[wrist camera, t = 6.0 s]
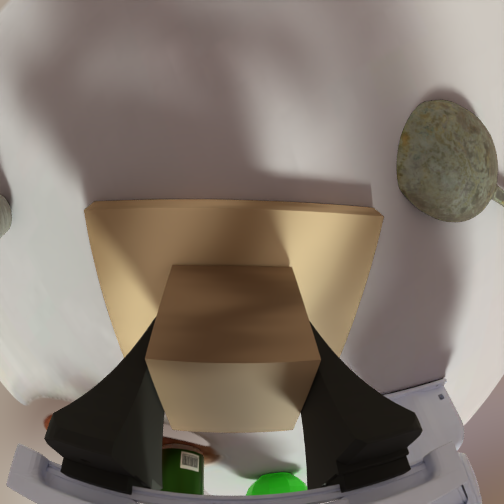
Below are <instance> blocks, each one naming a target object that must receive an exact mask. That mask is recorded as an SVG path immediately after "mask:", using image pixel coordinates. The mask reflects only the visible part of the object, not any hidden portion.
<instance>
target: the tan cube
mask: <svg viewBox="0 0 504 504" xmlns="http://www.w3.org/2000/svg"><path fill="white" fill-rule="evenodd" d="M145 361H146V364H147V366H148V369H149V372H150V375H151V378H152V380H153V383H154V386H155V389H156V391H157V394H158V396H159V399H160V401H161V404H162V406H163V409H164V411H165V413H166V416H167V418H168V421H169V423H170V425H171V427H172V429H173V430H180V431H194V432H218V433H248V432H272V431H285V430H293V428H294V426H295V424H296V422H297V419H298V417H299V415H300V412H301V410H302V408H303V405H304V403H305V400H306V398H307V395H308V393H309V390H310V388H311V385H312V383H313V380H314V378H315V375H316V372H317V370H318V367H319V364H320V362H321V358H320V354H319V351H318V348H317V344H316V341H315V338H314V334H313V331H312V328H311V325H310V321H309V318H308V315H307V312H306V309H305V306H304V302H303V299H302V296H301V293H300V290H299V287H298V284H297V281H296V278H295V275H294V272H293V268H292V267H270V266H207V265H172V267H171V271H170V274H169V277H168V280H167V283H166V286H165V289H164V293H163V296H162V299H161V302H160V306H159V309H158V313H157V316H156V319H155V323H154V326H153V330H152V334H151V337H150V341H149V345H148V348H147V352H146V356H145Z"/></svg>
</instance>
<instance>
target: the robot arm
mask: <svg viewBox="0 0 504 504" xmlns="http://www.w3.org/2000/svg"><path fill="white" fill-rule="evenodd" d="M155 319H156V317H155V318H154V320H153V321H152V323H151V324H150V326H149V327H148V328H147V330H146V331H145V333H144V334H143V335H142V337H141V338H140V339H139V340H138V342H137V343H136V344H135V346H134V347H133V348H132V349H131V351H130V352H129V353H128V354H127V355H126V356H125V358H124V359H123V360H122V361H121V362H120V363H119V364H118V365H117V367H116V368H115V369H114V370H113V371H112V372H111V373H109V374H108V375H107V376H106V377H105V378H104V379H103V380H102V381H101V382H100V383H98V384H97V385H96V386H95V387H94V388H92V389H91V390H90V391H88V392H87V393H86V394H84V395H83V396H81V397H80V398H79V399H77V400H76V401H74V402H72V403H71V404H69V405H67V406H66V407H64V408H62V409H60V410H58V411H57V412H54V413H53V415H52V418H51V420H50V423H49V426H48V429H47V432H46V435H45V438H44V439H45V440H46V442H47V444H48V445H49V446H50V447H52V448H53V449H54V450H55V451H56V452H58V453H59V454H60V455H61V456H63V457H64V458H63V462H62V465H60V464H57V463H54V462H52V461H49V460H48V459H47V458H46V457H45V456H43V455H42V454H40V453H39V452H37V451H35V450H32V449H30V448H28V447H26V446H24V445H22V444H20V443H19V444H18V445H17V449H16V451H15V455H14V458H13V461H12V465H11V468H10V472H9V476H8V480H7V487H9V488H11V489H12V490H14V491H16V492H17V493H19V494H21V495H22V496H24V497H26V498H28V499H30V500H31V501H33V502H35V503H37V504H139V503H143V504H320V503H325V502H329V503H325V504H482V499H481V495H480V490H479V486H478V482H477V479H476V477H475V474H474V471H473V469H472V466H471V464H470V462H469V459H468V458H467V456H466V454H465V453H460V452H457V450H458V449H459V448H460V446H461V444H462V442H463V439H464V426H463V423H462V420H461V418H460V416H459V414H458V412H457V410H456V408H455V406H454V404H453V402H452V400H451V399H450V397H449V395H448V393H447V391H446V389H445V387H444V385H445V383H446V382H447V380H446V379H441V380H438V381H435V382H432V383H428V384H425V385H421V386H418V387H414V388H411V389H407V390H403V391H399V392H395V393H391V394H386V395H382V394H380V393H379V392H377V391H376V390H375V389H373V388H372V387H371V386H369V385H368V384H367V383H365V382H364V381H363V380H362V379H360V378H359V377H358V376H357V375H356V374H355V373H354V372H353V371H352V370H350V369H349V368H348V367H347V366H346V365H345V363H344V362H343V361H342V360H341V359H340V358H339V357H338V356H337V355H336V354H335V353H334V351H333V350H332V349H331V348H330V347H329V345H328V344H327V343H326V342H325V341H324V339H323V338H322V337H321V335H320V334H319V333H318V331H317V330H316V329H315V327H314V326H313V325H312V323H311V322H310V325H311V328H312V331H313V334H314V338H315V341H316V344H317V348H318V351H319V354H320V358H321V362H320V364H319V367H318V370H317V372H316V375H315V378H314V380H313V383H312V385H311V388H310V390H309V393H308V395H307V398H306V400H305V403H304V405H303V408H302V410H301V417H302V425H303V432H304V442H305V452H306V465H307V490H304V491H297V492H289V493H280V494H268V495H249V496H214V495H195V494H183V493H174V492H166V491H160V490H161V489H162V488H163V486H162V438H163V422H164V412H165V411H164V409H163V406H162V404H161V401H160V399H159V396H158V394H157V391H156V389H155V386H154V383H153V380H152V378H151V375H150V372H149V369H148V366H147V364H146V361H145V356H146V352H147V348H148V345H149V341H150V337H151V334H152V330H153V326H154V323H155ZM335 500H336V501H335ZM330 501H333V502H330ZM137 502H138V503H137Z"/></svg>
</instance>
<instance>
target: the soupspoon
mask: <svg viewBox="0 0 504 504" xmlns="http://www.w3.org/2000/svg"><path fill="white" fill-rule="evenodd" d="M497 175H498V161H497V154H496V150H495V146H494V143H493V140H492V138H491V135H490V134H489V132H488V130H487V129H486V127H485V126H484V125H483V123H482V122H481V121H480V120H479V119H478V118H477V117H476V116H475V115H474V114H472V113H471V112H469V111H468V110H466V109H465V108H463V107H461V106H459V105H457V104H455V103H453V102H452V101H446V100H434V101H432V100H431V101H430V102H423V103H422V104H420V105H419V106H418V107H417V108H416V109H415V110H414V111H413V113H412V114H411V115H410V117H409V119H408V121H407V123H406V125H405V127H404V129H403V131H402V135H401V138H400V142H399V147H398V154H397V180H398V185H399V189H400V190H401V191H402V193H403V194H404V195H405V196H406V198H407V199H408V200H409V201H410V202H411V203H412V204H413V205H414V206H416V207H417V208H418V209H419V210H421V211H422V212H424V213H426V214H428V215H430V216H431V217H434V218H436V219H439V220H442V221H446V222H462V221H466V220H469V219H472V218H474V217H475V216H476V215H478V214H479V213H481V212H482V211H483V210H484V208H485V207H486V206H487V205H488V203H489V201H490V200H491V199H493V200H494V201H496V202H497V203H499V204H500V205H502V206H503V207H504V191H503V190H502V189H501V188H500V187H499V186H497V184H496V183H497Z"/></svg>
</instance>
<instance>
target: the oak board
mask: <svg viewBox="0 0 504 504" xmlns="http://www.w3.org/2000/svg"><path fill="white" fill-rule="evenodd" d="M84 213H85V219H86V225H87V230H88V235H89V240H90V245H91V250H92V254H93V259H94V263H95V267H96V271H97V275H98V279H99V282H100V286H101V290H102V293H103V297H104V300H105V303H106V307H107V310H108V313H109V316H110V319H111V322H112V325H113V328H114V331H115V334H116V337H117V340H118V342H119V345H120V348H121V351H122V353H123V356H124V358H125V356H126V355H127V354H128V353H129V352H130V351H131V349H132V348H133V347H134V346H135V344H136V343H137V342H138V340H139V339H140V338H141V337H142V335H143V334H144V333H145V331H146V330H147V328H148V327H149V326H150V324H151V323H152V321H153V320H154V318H155V317H156V316H157V313H158V309H159V306H160V302H161V299H162V296H163V293H164V289H165V286H166V283H167V280H168V277H169V274H170V271H171V267H172V265H207V266H270V267H292V268H293V272H294V275H295V278H296V281H297V284H298V287H299V290H300V293H301V296H302V299H303V302H304V306H305V309H306V312H307V315H308V318H309V321H310V322H311V323H312V325H313V326H314V327H315V329H316V330H317V331H318V333H319V334H320V335H321V337H322V338H323V339H324V341H325V342H326V343H327V344H328V345H329V347H330V348H331V349H332V350H333V351H334V353H335V354H336V355H337V356H338V357H340V355H341V352H342V350H343V347H344V345H345V342H346V340H347V337H348V334H349V332H350V329H351V326H352V323H353V321H354V318H355V315H356V312H357V309H358V306H359V303H360V300H361V297H362V294H363V291H364V288H365V285H366V282H367V278H368V275H369V272H370V268H371V265H372V261H373V258H374V254H375V250H376V247H377V243H378V239H379V235H380V231H381V227H382V223H383V219H384V216H383V215H381V214H380V213H379V212H378V211H377V210H375V209H374V208H370V207H359V206H347V205H333V204H319V203H302V202H282V201H258V200H218V199H156V200H117V201H95V202H93V203H92V204H91V205H90V206H88V207H87V208H86V209H85V210H84Z"/></svg>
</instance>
